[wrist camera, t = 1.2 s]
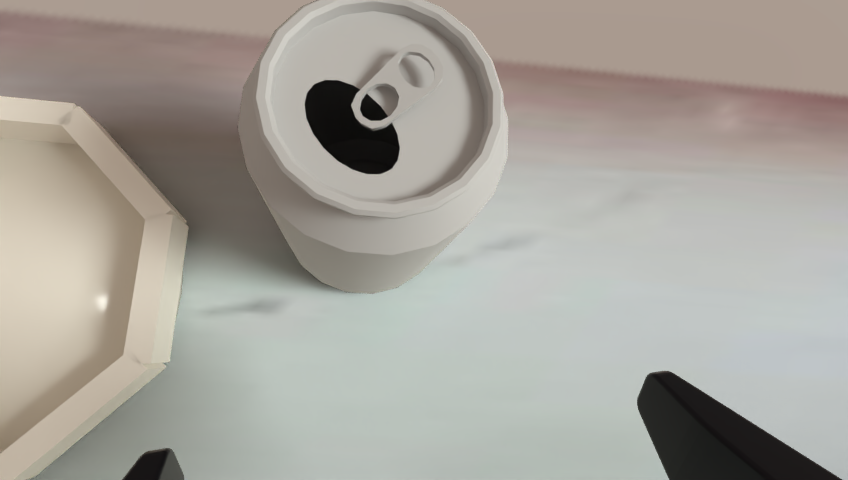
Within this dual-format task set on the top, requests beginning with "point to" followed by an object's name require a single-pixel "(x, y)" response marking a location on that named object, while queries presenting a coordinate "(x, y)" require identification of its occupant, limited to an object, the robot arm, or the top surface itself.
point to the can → (373, 136)
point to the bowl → (76, 280)
